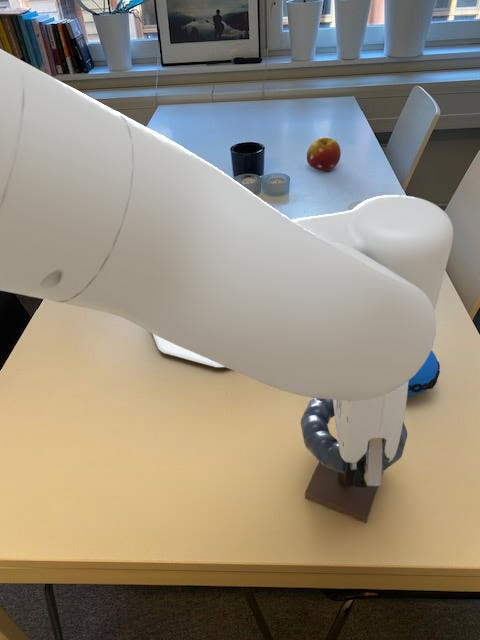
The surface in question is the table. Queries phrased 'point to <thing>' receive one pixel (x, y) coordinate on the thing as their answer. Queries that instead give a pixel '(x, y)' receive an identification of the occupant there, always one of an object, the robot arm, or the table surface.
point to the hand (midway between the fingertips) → (356, 465)
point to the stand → (340, 493)
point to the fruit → (323, 154)
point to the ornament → (425, 376)
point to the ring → (325, 443)
